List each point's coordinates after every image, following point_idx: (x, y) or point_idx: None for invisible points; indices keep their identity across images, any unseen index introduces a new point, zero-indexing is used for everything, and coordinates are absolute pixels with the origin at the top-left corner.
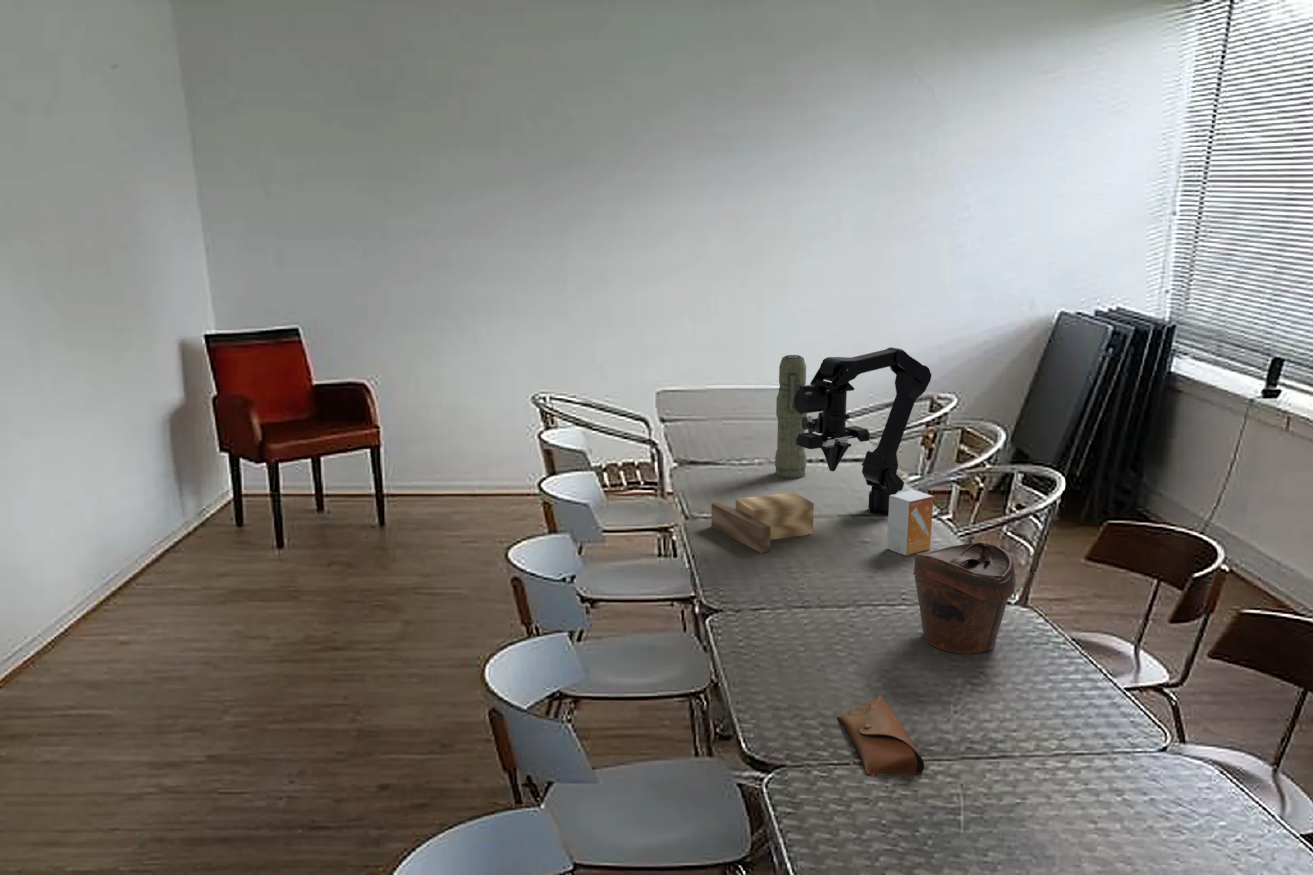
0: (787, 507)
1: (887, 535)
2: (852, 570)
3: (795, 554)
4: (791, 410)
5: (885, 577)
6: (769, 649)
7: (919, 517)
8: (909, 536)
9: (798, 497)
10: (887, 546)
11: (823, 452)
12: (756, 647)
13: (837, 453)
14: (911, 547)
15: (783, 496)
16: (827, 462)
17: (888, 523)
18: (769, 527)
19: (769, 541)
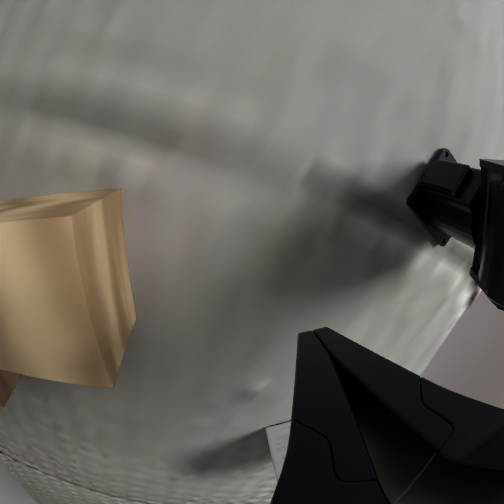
0: (24, 372)
1: (270, 450)
2: (154, 465)
3: (70, 399)
4: None
5: (192, 483)
6: (48, 495)
7: None
8: None
9: (66, 305)
10: (266, 432)
11: (276, 492)
12: (39, 490)
13: (386, 496)
14: None
15: (12, 267)
16: (294, 390)
17: (275, 473)
18: (2, 405)
19: (15, 383)
